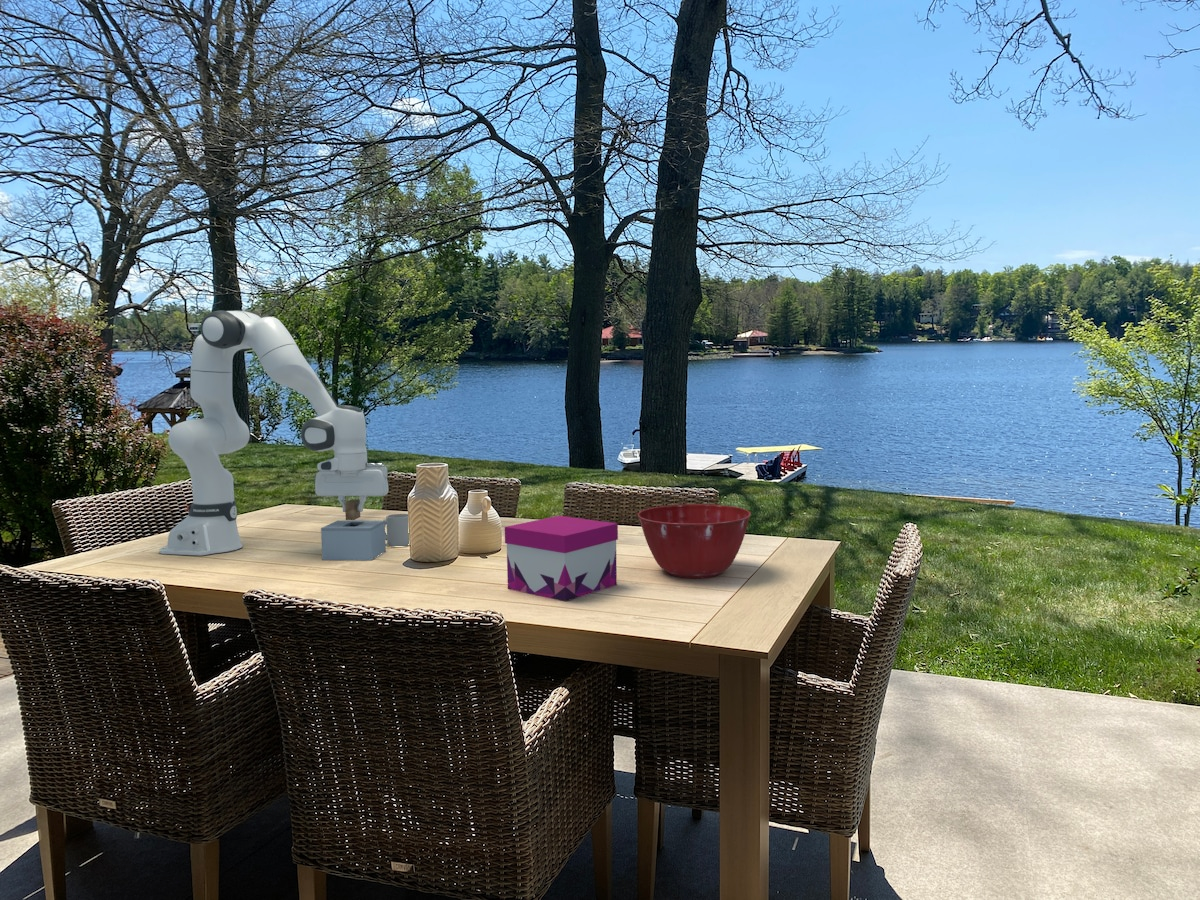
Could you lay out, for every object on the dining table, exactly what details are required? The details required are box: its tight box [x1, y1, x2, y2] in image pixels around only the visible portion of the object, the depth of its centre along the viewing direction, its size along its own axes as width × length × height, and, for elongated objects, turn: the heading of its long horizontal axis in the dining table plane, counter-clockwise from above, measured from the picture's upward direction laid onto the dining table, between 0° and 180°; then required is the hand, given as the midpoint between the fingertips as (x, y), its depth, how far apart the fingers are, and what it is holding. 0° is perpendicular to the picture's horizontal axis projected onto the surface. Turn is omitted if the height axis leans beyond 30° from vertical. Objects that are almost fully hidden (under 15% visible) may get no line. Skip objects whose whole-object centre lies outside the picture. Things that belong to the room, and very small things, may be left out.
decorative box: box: [504, 515, 619, 602], centre depth 199 cm, size 19×19×15 cm
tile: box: [344, 499, 361, 521], centre depth 236 cm, size 2×5×5 cm, turn 176°
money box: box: [320, 520, 387, 561], centre depth 237 cm, size 14×12×9 cm
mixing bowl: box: [637, 503, 752, 579], centre depth 212 cm, size 28×28×16 cm
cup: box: [382, 513, 409, 547], centre depth 252 cm, size 7×10×9 cm
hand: (352, 511), depth 237 cm, fingers closed on tile, 2 cm apart
